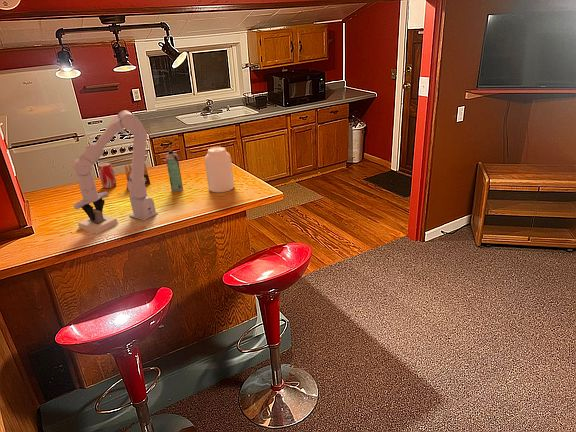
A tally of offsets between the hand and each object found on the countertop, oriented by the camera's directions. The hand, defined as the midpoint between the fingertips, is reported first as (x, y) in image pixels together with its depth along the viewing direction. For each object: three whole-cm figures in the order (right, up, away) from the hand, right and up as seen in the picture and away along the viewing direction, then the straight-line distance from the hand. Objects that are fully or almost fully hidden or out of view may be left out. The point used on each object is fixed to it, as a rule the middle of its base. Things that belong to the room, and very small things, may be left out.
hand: (96, 218), depth 175 cm
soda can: (-12, +16, +43) cm, 47 cm away
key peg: (+1, -3, +1) cm, 4 cm away
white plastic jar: (+47, +15, +33) cm, 59 cm away
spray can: (+25, +14, +34) cm, 44 cm away
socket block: (0, -3, +2) cm, 3 cm away
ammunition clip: (+3, +17, +42) cm, 46 cm away
